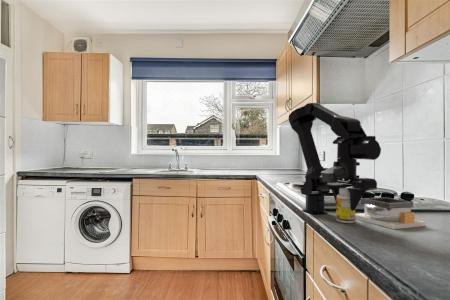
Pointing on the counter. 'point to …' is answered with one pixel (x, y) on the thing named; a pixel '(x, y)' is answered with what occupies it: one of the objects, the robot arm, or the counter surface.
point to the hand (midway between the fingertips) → (345, 208)
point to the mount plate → (390, 224)
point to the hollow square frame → (388, 210)
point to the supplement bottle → (344, 207)
